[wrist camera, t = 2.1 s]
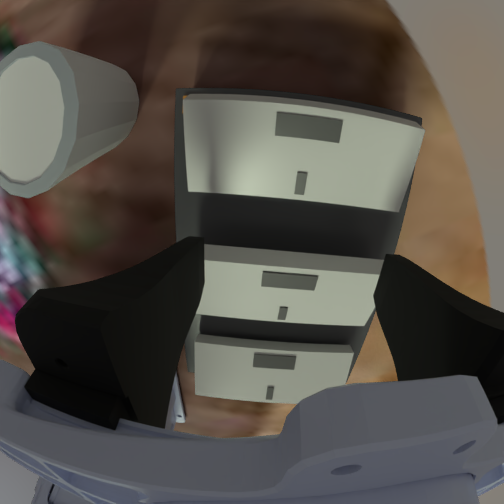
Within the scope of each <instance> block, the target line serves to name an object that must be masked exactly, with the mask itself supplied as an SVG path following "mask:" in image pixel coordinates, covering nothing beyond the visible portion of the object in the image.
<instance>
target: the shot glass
mask: <svg viewBox="0 0 504 504" xmlns="http://www.w3.org/2000/svg"><path fill="white" fill-rule="evenodd" d="M138 107H139V97H138V93H137V88H136V84H135V82H134V81H133V80H132V78H131V77H130V75H129V74H128V73H127V71H125V70H124V69H122V68H120V67H118V66H116V65H114V64H111V63H108V62H106V61H103V60H100V59H97V58H94V57H91V56H88V55H85V54H82V53H79V52H76V51H73V50H69V49H66V48H63V47H59V46H56V45H52V44H49V43H45V42H41V41H39V42H34V43H30V44H25V45H21V46H19V47H18V48H16V49H15V50H14V51H13V52H11V53H10V54H9V55H8V56H6V57H5V58H4V59H3V60H2V61H1V62H0V186H1V187H2V188H4V189H5V190H6V191H7V192H8V193H10V194H11V195H16V196H21V197H26V198H30V197H33V196H35V195H38V194H40V193H42V192H45V191H47V190H49V189H50V188H52V187H53V186H55V185H56V184H58V183H59V182H61V181H62V180H64V179H65V178H67V177H68V176H70V175H71V174H73V173H74V172H76V171H77V170H79V169H80V168H82V167H84V166H85V165H87V164H88V163H90V162H92V161H93V160H95V159H97V158H98V157H100V156H102V155H103V154H105V153H107V152H109V151H110V150H112V149H114V148H115V147H117V146H118V145H119V144H120V143H121V142H122V141H123V140H124V139H125V138H127V137H128V135H129V133H130V131H131V129H132V128H133V126H134V124H135V122H136V120H137V113H138Z"/></svg>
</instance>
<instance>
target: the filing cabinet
mask: <svg viewBox="0 0 504 504" xmlns="http://www.w3.org/2000/svg"><path fill="white" fill-rule="evenodd" d="M189 94H238V95H257V96H270V97H282V98H292V99H301V100H309V101H316V102H323V103H330V104H336V105H342V106H348V107H353V108H359V109H364V110H369V111H373V112H378V113H382V114H387V115H391V116H395V117H399V118H403V119H407V120H411V121H415V122H417V123H418V124H419V125H420V126H421V125H422V118H420V117H417V116H413V115H410V114H406V113H402V112H398V111H394V110H390V109H386V108H381V107H377V106H372V105H368V104H363V103H358V102H353V101H347V100H341V99H336V98H329V97H323V96H316V95H308V94H300V93H291V92H281V91H270V90H256V89H235V88H178V89H176V101H175V137H174V185H175V222H176V243H177V242H179V241H180V240H182V239H184V238H186V237H188V236H194V237H204V244H208V245H220V246H232V247H244V248H255V249H267V250H278V251H290V252H301V253H313V254H324V255H335V256H346V257H358V258H369V259H380V260H384V258H385V255H386V254H394V253H395V249H396V246H397V242H398V238H399V235H400V231H401V227H402V223H403V219H404V215H405V211H406V207H407V202H408V198H409V193H410V189H411V184H412V179H413V174H414V170H413V173H412V176H411V179H410V182H409V185H408V187H407V190H406V193H405V196H404V199H403V202H402V204H401V207H400V210H399V212H393V211H386V210H379V209H371V208H364V207H356V206H349V205H340V204H332V203H323V202H314V201H305V200H295V199H285V198H274V197H262V196H250V195H237V194H223V193H207V192H189V191H188V183H187V170H186V155H185V139H184V119H183V99H184V98H186V97H187V96H188V95H189ZM414 169H415V166H414ZM375 311H376V308H374V310H373V312H372V314H371V315H370V317H369V319H368V321H367V322H366V324H365V326H346V325H323V324H305V323H289V322H275V321H263V320H251V319H240V318H230V317H220V316H211V315H202V314H195V317H194V319H193V322H192V324H191V327H190V329H189V332H188V335H187V337H186V340H185V342H184V343H185V351H186V360H187V368H188V372H193V373H195V340H196V337H197V335H198V334H204V335H212V336H221V337H230V338H240V339H251V340H263V341H276V342H291V343H310V344H337V345H350V346H351V348H352V350H353V352H354V355H353V358H352V362H351V366H350V369H349V373H348V377H347V380H348V378H349V376H350V373H351V371H352V369H353V367H354V364H355V362H356V360H357V357H358V355H359V352H360V350H361V348H362V345H363V343H364V340H365V338H366V335H367V333H368V330H369V327H370V325H371V322H372V319H373V317H374V314H375ZM347 380H346V382H347Z"/></svg>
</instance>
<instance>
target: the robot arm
mask: <svg viewBox="0 0 504 504" xmlns="http://www.w3.org/2000/svg"><path fill="white" fill-rule="evenodd" d="M204 284H205V263H204V237H194V236H188V237H186V238H184V239H182V240H180V241H179V242H177V243H175V244H174V245H172V246H170V247H169V248H167V249H165V250H163V251H162V252H160V253H158V254H157V255H155V256H153V257H151V258H149V259H147V260H145V261H143V262H142V263H140V264H137V265H135V266H133V267H131V268H128V269H126V270H124V271H121V272H119V273H116V274H113V275H110V276H106V277H103V278H100V279H97V280H93V281H89V282H85V283H81V284H76V285H71V286H65V287H57V288H48V289H39V290H37V291H36V293H35V294H34V295H33V296H32V297H31V298H30V299H29V300H28V301H27V302H26V304H25V305H24V306H23V307H22V308H21V309H20V310H19V311H18V313H17V314H16V318H15V325H16V331H17V334H18V336H19V339H20V341H21V343H22V345H23V347H24V349H25V351H26V353H27V355H28V356H29V358H30V360H31V362H32V364H33V365H34V367H35V370H34V372H33V373H32V375H31V376H30V375H29V374H28V373H27V372H26V371H24V370H22V369H21V368H19V367H16V366H14V365H12V364H10V363H8V362H6V361H4V360H0V451H1V452H2V453H4V454H5V455H6V456H7V457H9V458H11V459H12V460H14V461H15V462H17V463H18V464H20V465H22V466H23V467H25V468H27V469H28V470H30V471H31V472H33V473H35V474H37V475H38V476H39V479H38V481H37V484H36V487H35V495H34V497H33V500H32V503H31V504H479V499H478V496H480V495H481V494H484V493H486V492H488V491H489V490H491V489H493V488H495V487H497V486H499V485H501V484H502V483H504V313H503V312H500V311H498V310H495V309H493V308H490V307H488V306H486V305H483V304H481V303H479V302H477V301H475V300H473V299H471V298H469V297H467V296H465V295H464V294H462V293H460V292H458V291H456V290H455V289H453V288H452V287H450V286H448V285H447V284H445V283H444V282H442V281H440V280H439V279H437V278H436V277H434V276H433V275H431V274H430V273H428V272H427V271H425V270H424V269H422V268H421V267H419V266H418V265H416V264H415V263H413V262H412V261H410V260H408V259H406V258H405V257H403V256H400V255H394V254H386V255H385V258H384V262H383V265H382V269H381V272H380V275H379V279H378V282H377V285H376V288H375V291H374V294H373V298H374V303H375V308H376V312H377V316H378V319H379V321H380V324H381V327H382V330H383V332H384V335H385V338H386V340H387V343H388V346H389V349H390V351H391V354H392V357H393V360H394V364H395V368H396V373H397V378H398V381H393V382H373V383H353V384H347V385H341V386H335V387H329V388H326V389H324V390H322V391H319V392H317V393H315V394H313V395H311V396H309V397H306V398H304V399H302V400H301V401H300V402H299V403H298V404H297V405H296V406H295V407H294V409H293V410H292V411H291V412H290V413H289V414H288V415H287V417H286V420H285V423H284V426H283V429H282V432H281V433H280V434H278V435H267V436H256V437H240V438H216V437H209V436H202V435H195V434H189V433H183V432H178V431H173V430H174V426H175V423H176V422H180V423H184V422H185V420H186V418H185V413H184V408H183V403H182V398H181V393H180V388H179V382H178V377H177V371H176V370H177V366H178V362H179V358H180V354H181V351H182V348H183V345H184V342H185V340H186V337H187V335H188V332H189V329H190V327H191V324H192V322H193V319H194V317H195V314H196V312H197V309H198V307H199V304H200V301H201V297H202V293H203V288H204ZM49 493H50V494H49Z"/></svg>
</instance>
